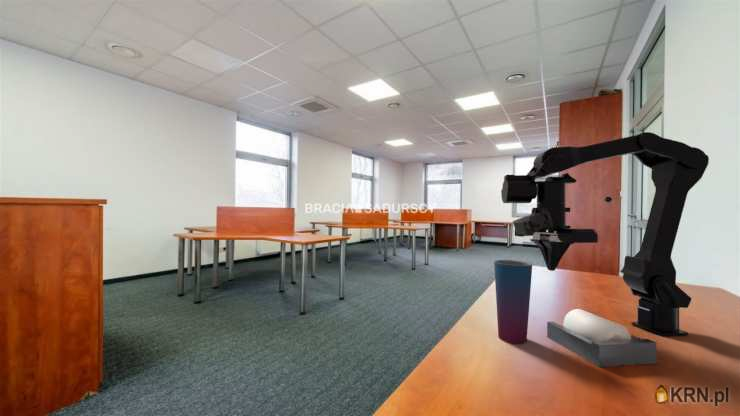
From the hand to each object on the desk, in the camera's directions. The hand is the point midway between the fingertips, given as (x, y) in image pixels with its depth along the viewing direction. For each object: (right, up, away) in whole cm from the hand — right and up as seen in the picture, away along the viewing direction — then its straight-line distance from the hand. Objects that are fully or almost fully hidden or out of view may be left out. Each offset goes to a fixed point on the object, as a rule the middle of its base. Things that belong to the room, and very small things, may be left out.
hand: (551, 270), depth 67 cm
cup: (-14, -12, -10) cm, 21 cm away
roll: (0, -12, -14) cm, 18 cm away
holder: (0, -12, -13) cm, 17 cm away
